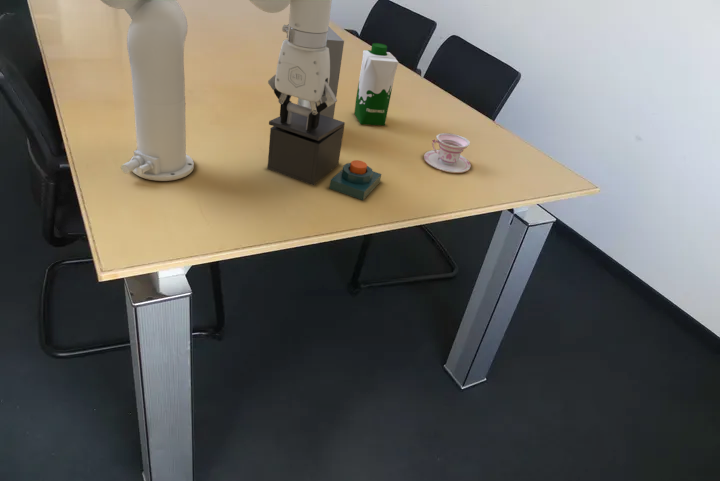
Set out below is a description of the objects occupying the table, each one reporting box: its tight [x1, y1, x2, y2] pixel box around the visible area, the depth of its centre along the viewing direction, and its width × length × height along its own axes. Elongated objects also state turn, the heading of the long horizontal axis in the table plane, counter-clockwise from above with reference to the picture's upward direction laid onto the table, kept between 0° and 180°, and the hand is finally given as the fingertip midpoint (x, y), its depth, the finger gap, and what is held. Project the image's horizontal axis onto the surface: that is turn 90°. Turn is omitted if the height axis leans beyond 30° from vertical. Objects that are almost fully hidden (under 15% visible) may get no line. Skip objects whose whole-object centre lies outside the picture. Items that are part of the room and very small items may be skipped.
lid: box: [268, 101, 346, 141], centre depth 121 cm, size 13×12×5 cm
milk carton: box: [354, 42, 399, 126], centre depth 152 cm, size 9×9×20 cm
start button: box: [350, 159, 368, 174], centre depth 122 cm, size 4×4×2 cm
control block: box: [329, 162, 382, 201], centre depth 123 cm, size 10×8×4 cm
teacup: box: [423, 132, 472, 174], centre depth 140 cm, size 12×12×6 cm
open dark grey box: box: [267, 125, 345, 186], centre depth 125 cm, size 13×12×10 cm
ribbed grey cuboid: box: [297, 26, 345, 119], centre depth 138 cm, size 14×6×25 cm, turn 21°
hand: (298, 124), depth 117 cm, fingers closed on lid, 5 cm apart
